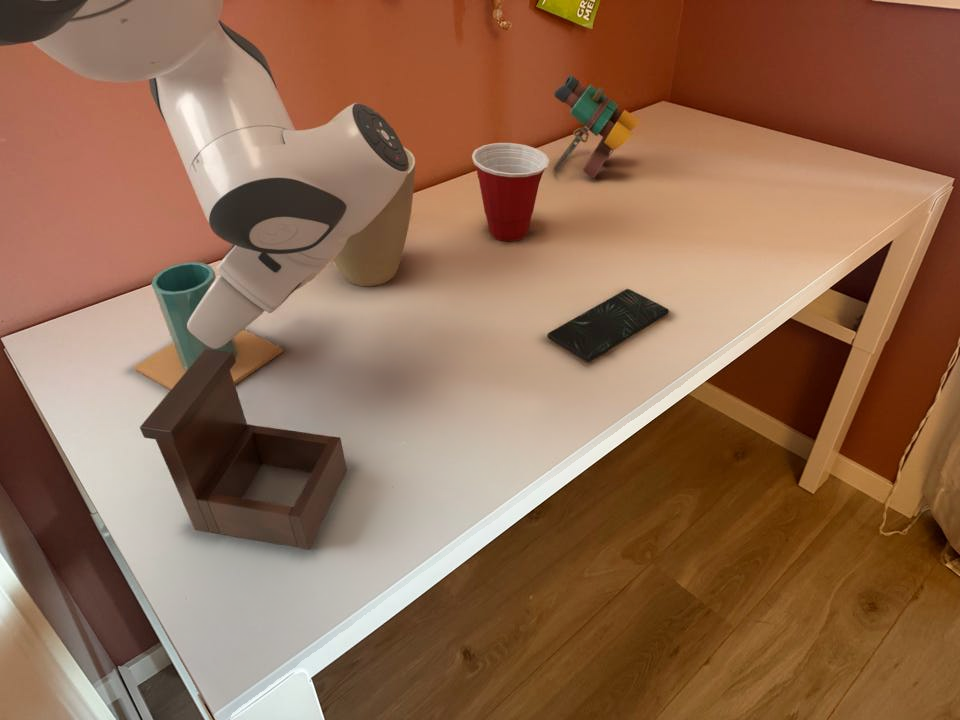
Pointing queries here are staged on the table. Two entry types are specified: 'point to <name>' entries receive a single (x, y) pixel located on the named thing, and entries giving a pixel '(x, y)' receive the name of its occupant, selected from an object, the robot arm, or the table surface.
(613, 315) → the smartphone
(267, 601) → the table surface
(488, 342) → the table surface
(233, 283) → the robot arm
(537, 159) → the plastic cup
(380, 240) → the plant pot
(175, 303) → the cup
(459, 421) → the table surface
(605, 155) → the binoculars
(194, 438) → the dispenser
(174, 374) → the mat
